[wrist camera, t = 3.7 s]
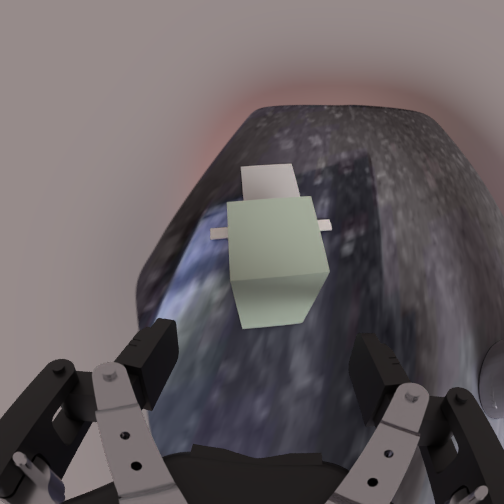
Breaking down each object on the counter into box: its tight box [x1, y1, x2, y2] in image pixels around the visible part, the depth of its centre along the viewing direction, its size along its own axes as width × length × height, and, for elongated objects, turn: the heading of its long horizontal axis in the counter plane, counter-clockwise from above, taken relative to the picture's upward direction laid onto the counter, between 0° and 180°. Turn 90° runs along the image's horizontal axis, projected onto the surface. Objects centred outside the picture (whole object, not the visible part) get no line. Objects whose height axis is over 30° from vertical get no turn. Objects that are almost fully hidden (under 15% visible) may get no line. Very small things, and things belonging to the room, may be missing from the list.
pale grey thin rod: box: [210, 219, 332, 240], centre depth 27 cm, size 12×1×1 cm, turn 95°
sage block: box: [227, 196, 330, 329], centre depth 19 cm, size 5×5×10 cm
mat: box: [241, 164, 300, 201], centre depth 30 cm, size 6×6×1 cm
